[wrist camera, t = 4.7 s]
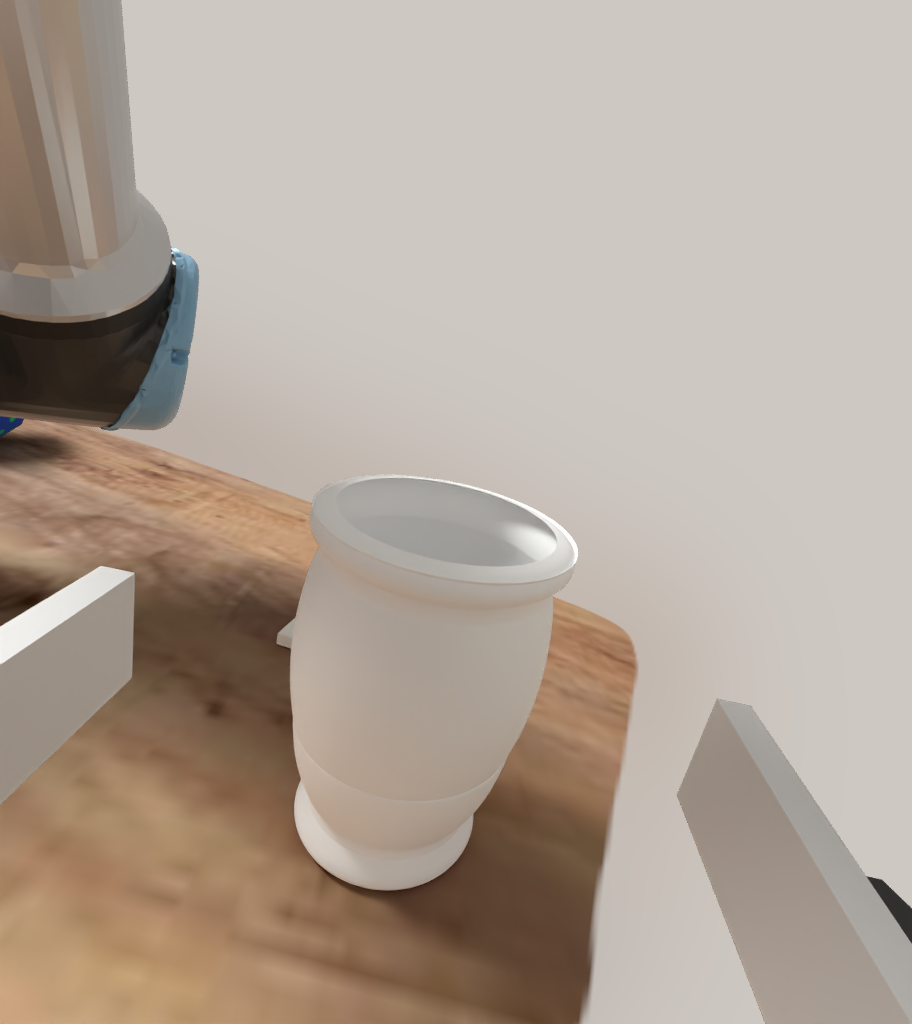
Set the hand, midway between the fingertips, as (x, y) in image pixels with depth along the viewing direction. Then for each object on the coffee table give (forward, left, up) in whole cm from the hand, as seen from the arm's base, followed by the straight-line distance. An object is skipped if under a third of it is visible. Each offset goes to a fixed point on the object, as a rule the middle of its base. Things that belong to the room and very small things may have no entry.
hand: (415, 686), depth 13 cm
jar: (-2, +10, -15) cm, 18 cm away
